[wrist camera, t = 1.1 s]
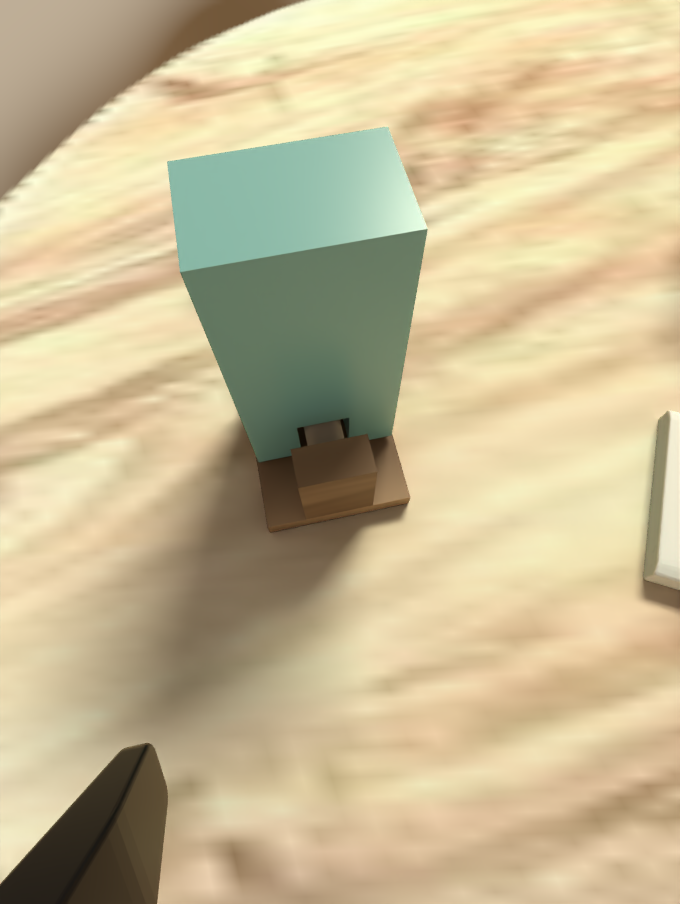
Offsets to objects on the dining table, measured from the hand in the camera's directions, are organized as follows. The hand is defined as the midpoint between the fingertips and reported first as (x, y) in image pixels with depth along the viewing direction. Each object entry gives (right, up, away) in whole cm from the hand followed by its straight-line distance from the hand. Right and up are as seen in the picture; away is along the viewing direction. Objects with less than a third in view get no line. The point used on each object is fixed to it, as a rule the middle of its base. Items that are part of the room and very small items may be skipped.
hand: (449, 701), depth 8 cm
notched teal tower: (-3, +6, +16) cm, 18 cm away
